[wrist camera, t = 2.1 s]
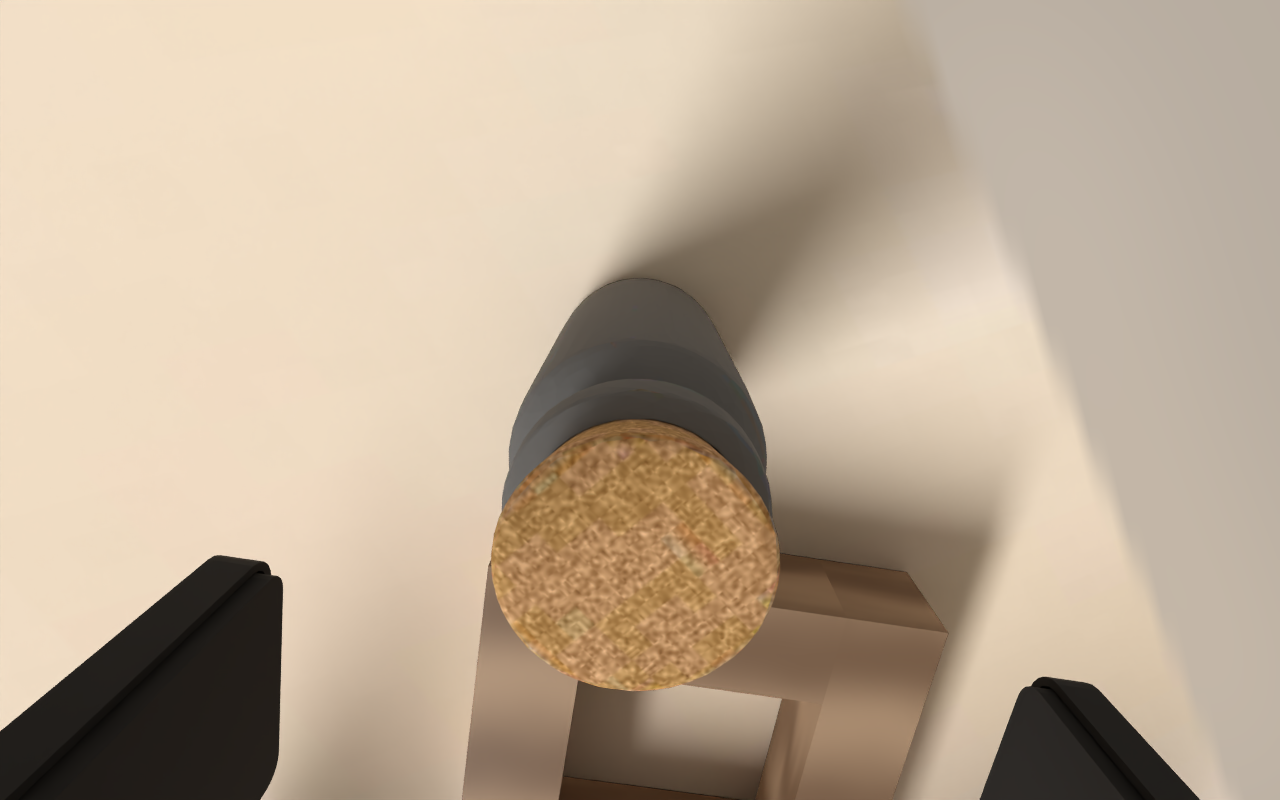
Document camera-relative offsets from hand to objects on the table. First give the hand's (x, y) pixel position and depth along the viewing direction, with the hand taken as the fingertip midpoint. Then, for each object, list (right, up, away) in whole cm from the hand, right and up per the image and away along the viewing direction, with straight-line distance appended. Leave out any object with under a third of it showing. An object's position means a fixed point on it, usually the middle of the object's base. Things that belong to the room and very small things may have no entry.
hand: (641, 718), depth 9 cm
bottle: (0, +6, +17) cm, 18 cm away
